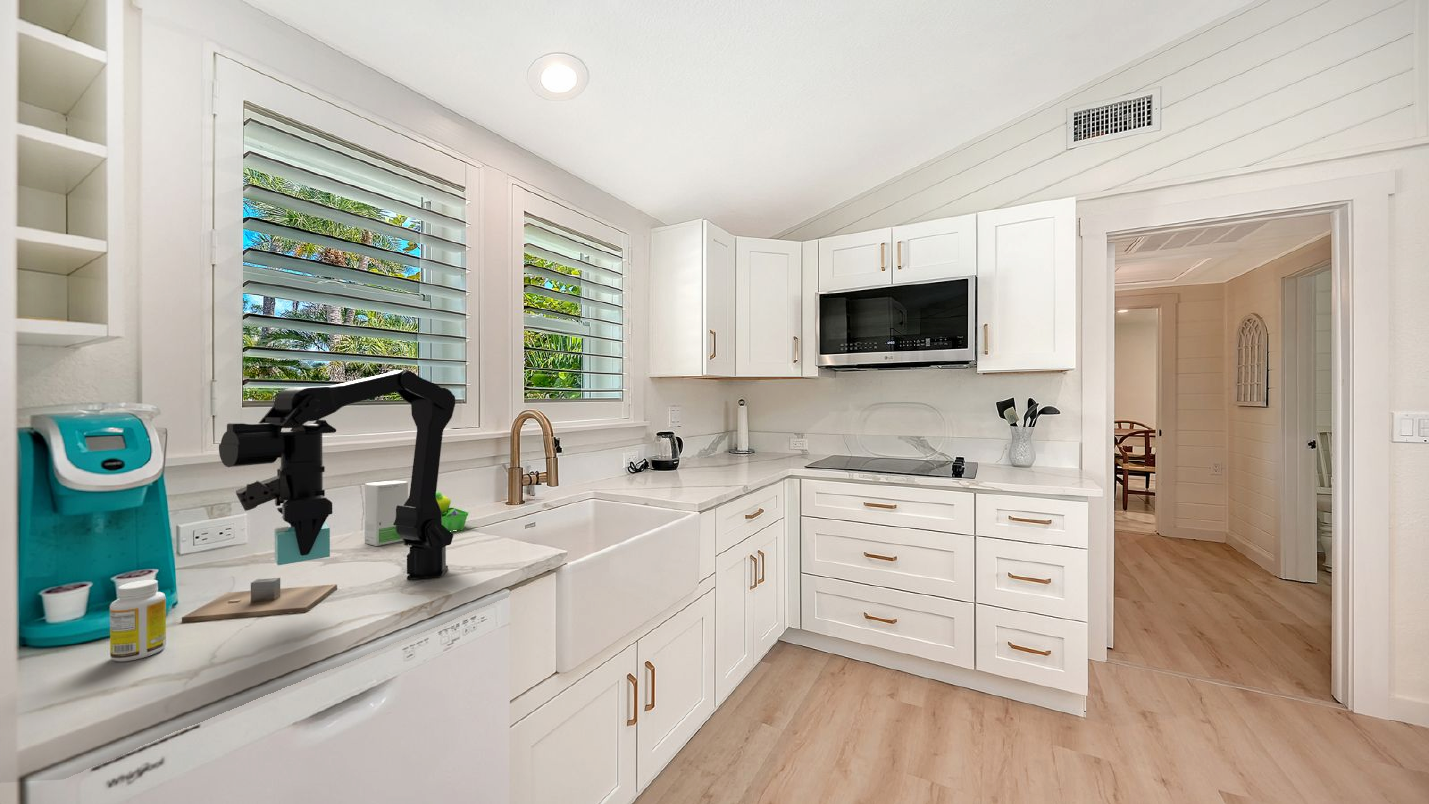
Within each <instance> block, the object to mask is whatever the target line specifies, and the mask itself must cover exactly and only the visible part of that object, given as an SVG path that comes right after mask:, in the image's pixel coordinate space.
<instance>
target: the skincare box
mask: <svg viewBox="0 0 1429 804" xmlns="http://www.w3.org/2000/svg"><path fill="white" fill-rule="evenodd" d="M408 498H409V481H402V480H386V481H379V482H378V481H376V482H367V483H364V544H366V545H371V546H374V547H379V546H384V545H388V544H394V543H399V542H403V539H402V537H400V535H399V534H397V532H396V526H395V525H393V524H394V522H395V519H396V507H397V505H401V506H403V505H404V504H405V502H406V501H407V500H408Z"/></svg>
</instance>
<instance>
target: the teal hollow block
mask: <svg viewBox="0 0 1429 804" xmlns="http://www.w3.org/2000/svg"><path fill="white" fill-rule="evenodd" d="M330 557H331V528H330V526H328V525H327V523H326V522H324V524H323V526H322V528H321V530H320V532H319V534H318V536H317V538H316V540H315V543H314V545H313V547H312V549H311V551H310V553H309V554H308V555H303V556H302V555H301V554H300V551H299V547H298V542H297V538H296V534H295V530H294V527H291V526H280V527H276V528H274V560H275V563H276V565H277V566H283V565H288V564H294V563H300V562H306V561H307V562H308V561H312V560H319V559H325V558H330Z"/></svg>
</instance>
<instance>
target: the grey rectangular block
mask: <svg viewBox="0 0 1429 804" xmlns="http://www.w3.org/2000/svg"><path fill="white" fill-rule="evenodd" d="M280 589H281V577H272V578H271V577H270V578H269V577H268V578H259V579H257V578H256V579H255V580H254V581H252V582H250V591H251V602H263V601H275V600H276V599H278V598H279V597H280Z"/></svg>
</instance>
